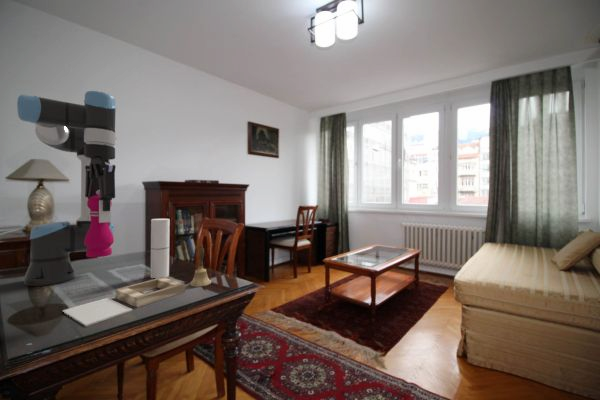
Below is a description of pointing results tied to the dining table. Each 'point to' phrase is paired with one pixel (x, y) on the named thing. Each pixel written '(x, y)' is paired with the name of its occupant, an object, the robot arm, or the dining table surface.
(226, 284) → the dining table surface
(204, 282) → the hand bell
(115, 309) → the plastic pad
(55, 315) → the dining table surface
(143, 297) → the maple frame
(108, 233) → the pepper mill
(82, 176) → the robot arm
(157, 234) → the cylindrical container
